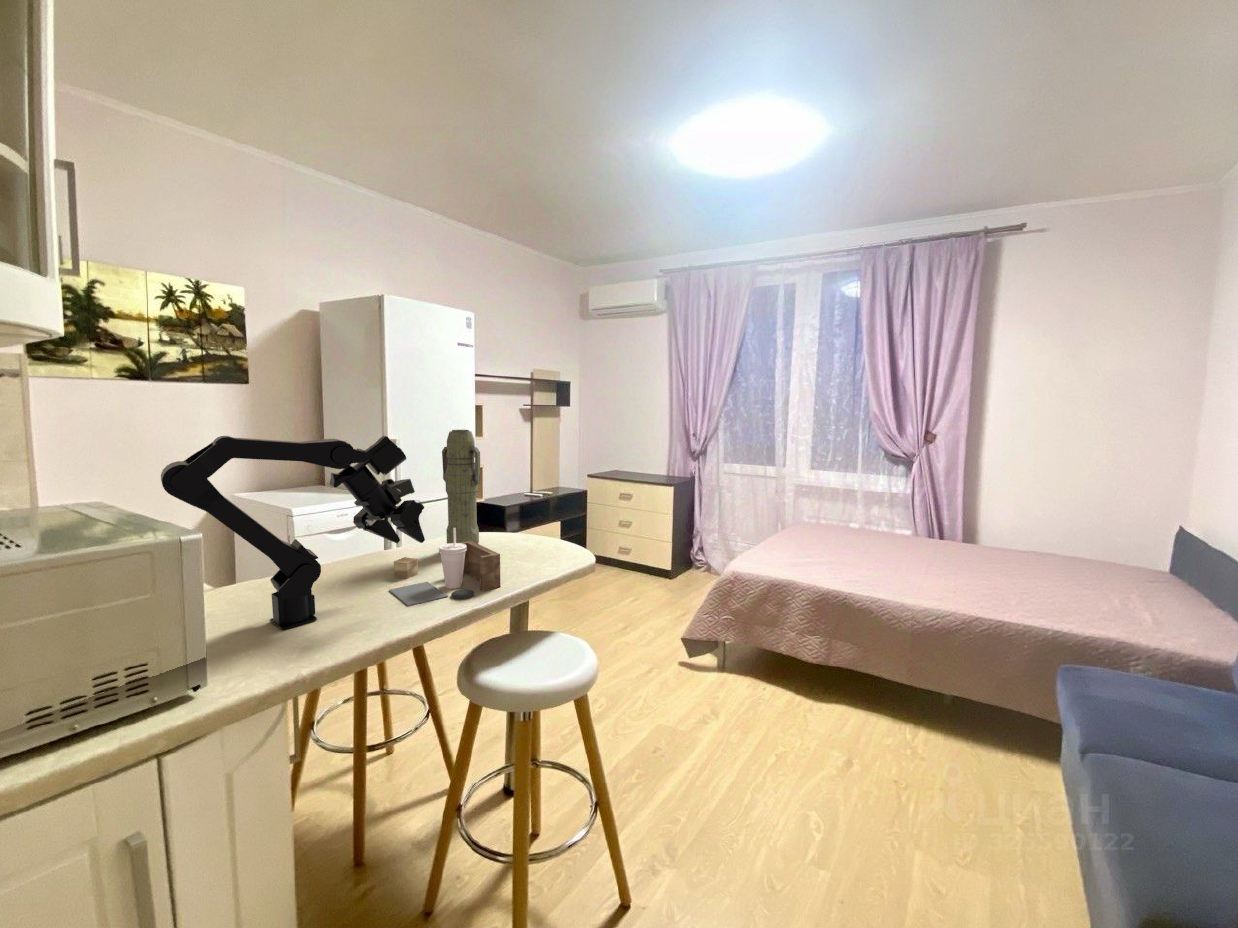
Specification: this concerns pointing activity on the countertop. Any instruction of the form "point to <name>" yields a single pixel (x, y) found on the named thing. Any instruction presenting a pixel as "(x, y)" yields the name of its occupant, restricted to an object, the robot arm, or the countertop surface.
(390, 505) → the robot arm
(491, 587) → the cubby
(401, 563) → the oak cube
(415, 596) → the mat
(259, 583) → the countertop surface
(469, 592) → the dark grey disc
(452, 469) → the thermos
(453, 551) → the smoothie
